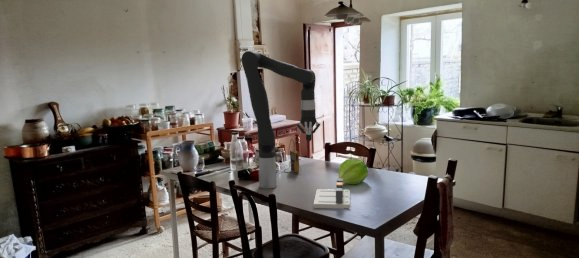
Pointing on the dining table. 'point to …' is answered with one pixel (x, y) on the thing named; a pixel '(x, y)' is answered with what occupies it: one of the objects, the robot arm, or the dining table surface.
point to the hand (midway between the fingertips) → (308, 141)
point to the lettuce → (353, 171)
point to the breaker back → (339, 179)
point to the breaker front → (338, 195)
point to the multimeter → (294, 160)
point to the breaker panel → (331, 199)
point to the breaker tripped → (340, 186)
